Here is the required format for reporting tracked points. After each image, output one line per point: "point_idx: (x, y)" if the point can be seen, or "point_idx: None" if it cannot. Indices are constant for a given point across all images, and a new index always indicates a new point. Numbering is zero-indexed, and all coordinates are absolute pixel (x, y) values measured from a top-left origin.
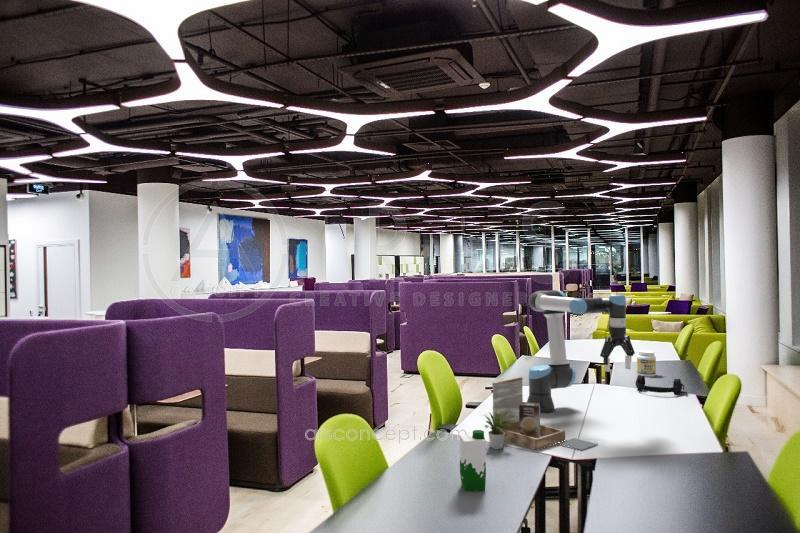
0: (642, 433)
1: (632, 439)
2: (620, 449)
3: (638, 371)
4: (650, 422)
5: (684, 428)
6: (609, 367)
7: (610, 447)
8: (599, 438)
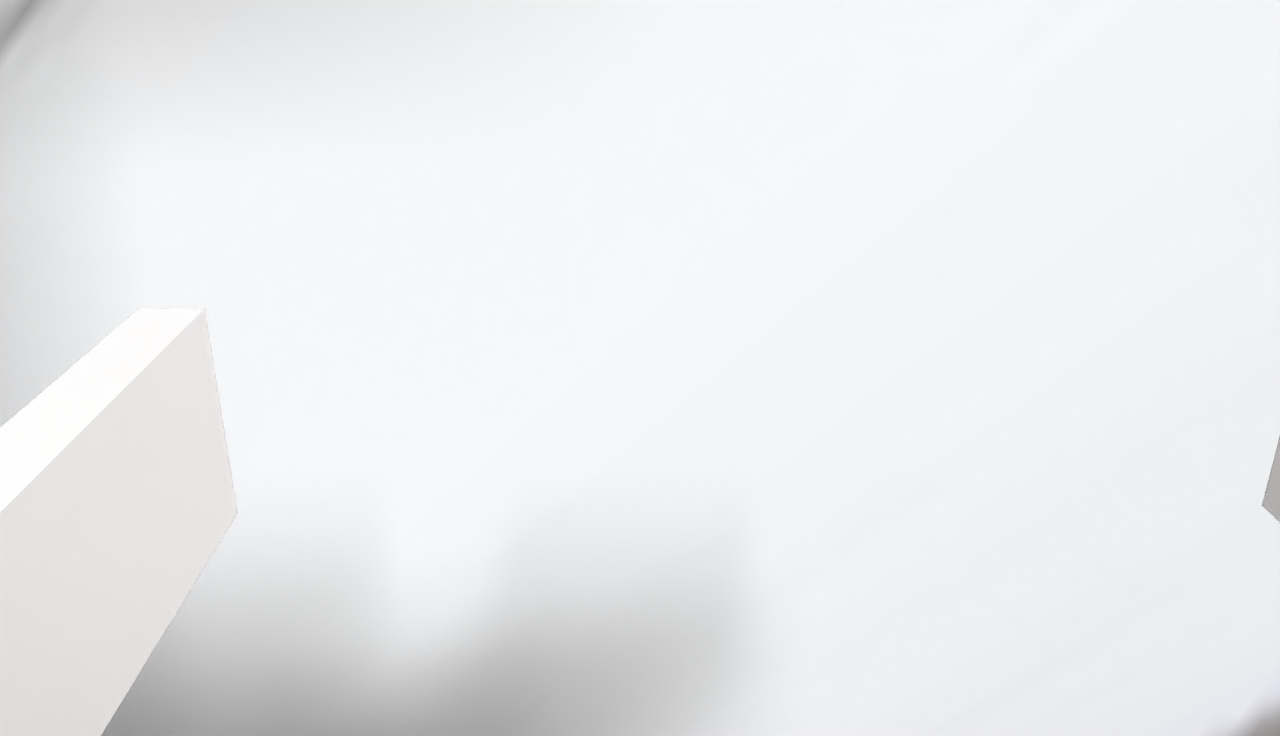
0: (692, 429)
1: (416, 531)
2: None
3: None
4: (1207, 136)
5: None
6: (153, 614)
7: None
8: None
